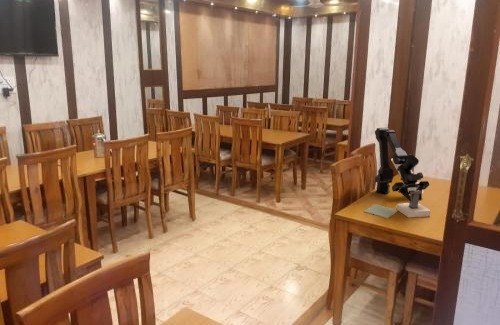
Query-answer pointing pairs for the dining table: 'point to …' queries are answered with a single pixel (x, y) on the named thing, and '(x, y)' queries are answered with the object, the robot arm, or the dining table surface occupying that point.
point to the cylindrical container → (400, 176)
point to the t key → (414, 198)
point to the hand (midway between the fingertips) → (415, 200)
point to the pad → (381, 211)
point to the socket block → (413, 210)
